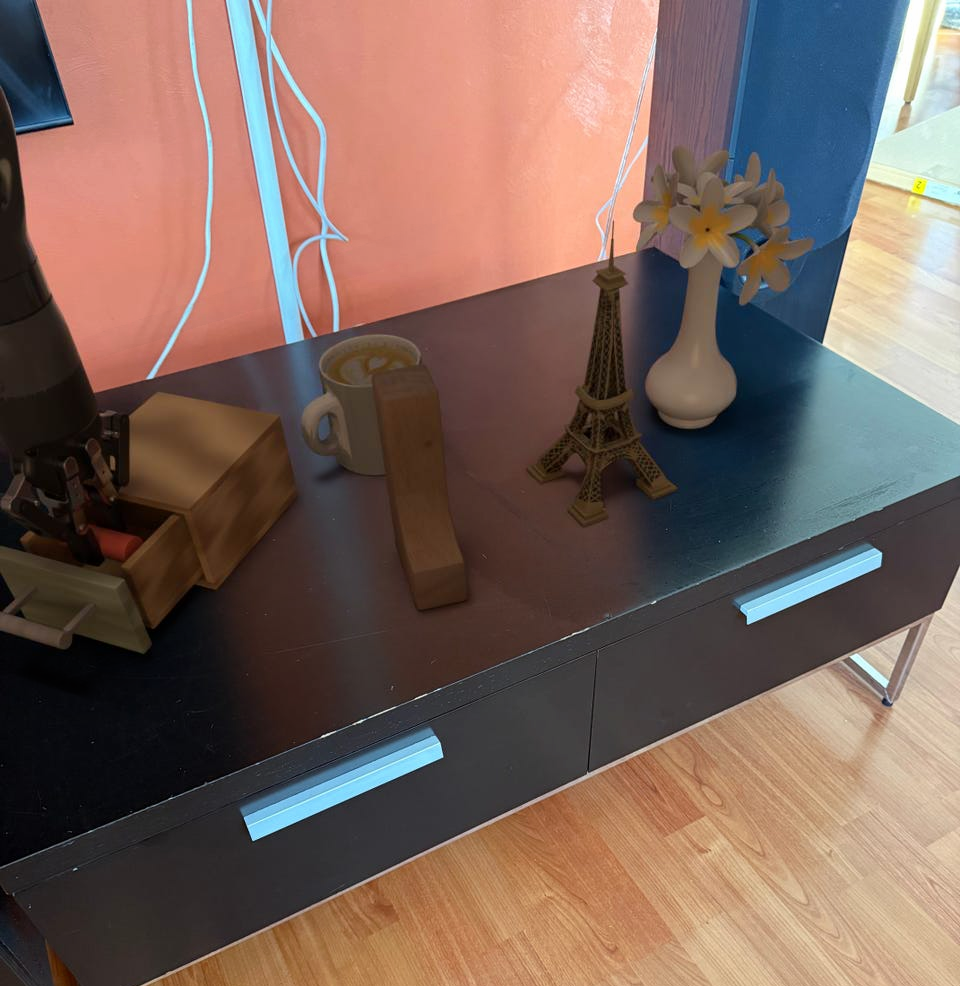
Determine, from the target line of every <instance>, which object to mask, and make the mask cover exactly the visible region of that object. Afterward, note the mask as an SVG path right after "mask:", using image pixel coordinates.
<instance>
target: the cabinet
mask: <svg viewBox="0 0 960 986" xmlns="http://www.w3.org/2000/svg"><path fill="white" fill-rule="evenodd" d="M128 416H129V419H130V481H129V484H128V485H127V486H126V487H121V488H120V490H119V491H118V496H119V499H122V500H126V501H131V502H135V503H139V504H143V505H147V506H151V507H156V508H160V509H164V510H168V511H172V512H176V513H180V514H184V516H185V519H186V522H187V525H188V528H189V531H190V534H191V537H192V540H193V542H194V545H195V548H196V551H197V554H198V557H199V560H200V563H201V566H202V569H203V572H204V574H203V575H202V576H201V577H200V578H199V579H198V580H197V581H196V583H195V584H194V585H196V586H200V587H203V588H206V589H207V588H208V589H209V590H215V591H217V590H218V589H219V587H220V586H221V585H222V584H223V583H224V582H225V580H226V579H227V578H228V577H229V576H230V575H231V574H232V572H233V571H234V570H235V569H236V568H237V567H238V565H240V564H241V562H242V561H243V560H244V559H245V557H247V555H248V554H249V553H250V551H252V550H253V548H254V547H255V546H256V545H257V543H258V542H259V541H260V540H261V539H262V538H263V537H264V535H265V534H266V533H267V532H268V531H269V530H270V528H271V527H272V526H273V525H274V524H275V522H276V521H278V520H279V518H280V517H281V515H282V514H283V513H284V512H285V511H286V510H287V509H288V508H289V507H290V505H291V504H293V502H294V501H295V499H297V497H298V496H299V493H298V489H297V483H296V478H295V476H294V471H293V466H292V463H291V458H290V457H291V456H290V454H289V449H288V445H287V440H286V436H285V432H284V431H285V430H284V427H283V423H282V418H281V415H280V414H275V413H270V412H265V411H261V410H260V411H259V410H254V409H250V408H245V407H244V408H243V407H239V406H233V405H229V404H224V403H220V402H214V401H209V400H204V399H199V398H194V397H188V396H182V395H178V394H172V393H167V392H164V391H156V392H155V394H153V395H152V396H151V397H149V398H148V399H147V400H146V401H145V402H144V403H142V405H140V406H139V407H138V408H137V409H136V410H135V411H133V412H132V413H131V414H130V415H128ZM110 464H111V469H112V470H115V458H114V457H113V456H110Z"/></svg>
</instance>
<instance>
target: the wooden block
mask: <svg viewBox="0 0 960 986" xmlns="http://www.w3.org/2000/svg"><path fill="white" fill-rule="evenodd" d="M372 385H373V392H374V399H375V406H376V413H377V419H378V426H379V433H380V440H381V446H382V453H383V460H384V467H385V474H386V475H385V479H386V485H387V494H388V501H389V507H390V514H391V521H392V528H393V534H394V540H395V548H396V550H397V553H398V557H399V559H400V562H401V566H402V568H403V572H404V574H405V578H406V580H407V584H408V586H409V589H410V591H411V592H410V593H411V595H412V598H413V601H414V604H415V607H416V608H417V609H418V611H419V610H420V611H424V610H428V609H432V608H438V607H442V606H446V605H450V604H451V605H452V604H455V603H459V602H463V601H466V600H467V598H468V588H467V587H468V586H467V575H466V574H467V573H466V566H465V565H466V564H465V559H464V557H463V554H462V550H461V548H460V545H459V542H458V539H457V536H456V535H457V534H456V531H455V527H454V526H455V525H454V521H453V517H452V512H451V506H450V498H449V491H448V481H447V480H448V479H447V470H446V458H445V448H444V446H445V445H444V437H443V435H444V434H443V426H442V425H443V424H442V415H441V405H440V403H441V402H440V393H439V390H438V387H437V385H436V383H435V381H434V379H433V377H432V375H431V373H430V370H429V369H428V366H427V364H423V363H422V364H420V365H414V366H409V367H404V368H398V369H393V370H387V371H382V372H377V373H374V374H373V375H372Z"/></svg>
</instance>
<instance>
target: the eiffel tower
mask: <svg viewBox="0 0 960 986" xmlns="http://www.w3.org/2000/svg"><path fill="white" fill-rule="evenodd" d="M611 229H612V230H611V238H610V247H609V248H610V250H609V259H608V266H606V267H604V268H601V269H597V270H595V273H596V276H595V277H594V278H593V279H592V280H591V282H593V283H594V284H595V285H596V286H597V287H599V288H600V289H599V295H598V300H597V307H596V312H595V313H596V314H595V318H594V325H593V332H592V338H591V343H590V349H589V354H588V360H587V365H586V371H585V374H584V375H585V376H584V382H583V384H578V385H577V386H576V388H575V391H574V393H575V394H576V396H577V398H579V399H578V403H577V406H576V408H575V411H574V415H573V417H572V418H571V421H569V423H567V424H563V428H564V430H565V432H564V433H563V434H562V435H561V437H559V438H558V439H557V440H556V441H555V442H554V443H553V444H552V445H551V446H550V447H549V448H548V449H547V450H546V451H545V452H544V453H543V454H541V456H539V457H538V459H537V460H536V462H535V463H533V464H531V465H528V466H525V470H526V472H527V473H528V474H529V475H530V476H531V477H532V478H533V479H534V480H535V481H536V482H537V483H538V484H540V485H541V484H544V483H547V482H549V481H552V480H555V479H557V478H560V477H562V476H565V469H564V468H563V466H564V465H565V464H566V463H567V462H568V460H569V459H570V458H571V457H572V456H573V455H574V454H577V455H578V456H579V458H580V459H581V461H582V462H583V463H584V465H585V467H586V468H587V471H586V473H585V476H584V478H583V480H582V483H581V485H580V487H579V489H578V492H577V495H576V496H575V499H574V503H572V504H571V507H568V508H567V513H569V515H570V516H571V517H572V518H574V519H575V520H576V521H577V522H578V523H579V525H580V526H581V527H583V528H585V527H587V526H591V525H592V524H594V523H598V522H600V521H603V520H606V519H608V518H609V513H608V512H607V508H605V507H604V500H603V499H604V497H603V483H602V482H603V481H602V471H603V470H604V469H605V468H606V467H607V466H609V465H610V464H611V463H613V462H614V461H616V460H618V459H625V460H626V461H628V462H629V463H630V465H631V466H632V468H633V469H634V471H635V472H636V474H637V476H639V478H636V486H637V487H638V488H639V489H640V490H641V491H642V492H644V493H645V494H646V495H647V496H648V497H649V498H650V499H651V500H653V501H654V500H656V499H659V498H661V497H664V496H666V495H670V494H672V493H674V492H676V491H677V490H678V487H677V486H676V485H675V484H674V483H672V482H671V481H670V480H669V479H668V478H666V476H665V474H664V472H663V471H662V470H661V468H660V467H659V466H658V465H657V463H656V462H655V460H654V459H653V458H652V457H651V455H650V454H649V452H648V451H647V450H646V449H645V447H644V446H643V445H642V444H641V442H640V439H641V438H642V437H643V434H642V433H640V432H638V431H637V429H636V426H635V425H634V423H633V418H632V412H631V408H630V404H629V403H630V401H631V400H632V399H634V398H635V395H634V392H633V389H632V388H630V387H628V386H627V384H626V383H627V382H626V371H625V370H626V369H625V358H624V357H625V356H624V346H623V345H624V344H623V331H622V329H623V328H622V314H621V313H622V311H621V296H620V295H621V294H620V289H621V288H624V287H626V286H627V285H629V282H628V281H627V279H626V278H625V275H627V273H626V271H623V270H621V269H620V268H619V267H617V266H616V265H614V262H615V260H614V258H615V255H614V250H615V249H614V247H615V246H614V245H615V244H614V241H615V239H614V234H615V233H614V232H615V231H614V230H615V220H612V227H611ZM616 413H617V414H616ZM590 414H591V415H590ZM589 415H590V417H589Z"/></svg>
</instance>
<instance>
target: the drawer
mask: <svg viewBox="0 0 960 986" xmlns="http://www.w3.org/2000/svg"><path fill="white" fill-rule="evenodd" d="M84 497H85V496H84ZM85 501H86V504H85V505H84V506H83V510H84V513H85V516H86V519H87V523H88V524H91V525H95V526H96V524H95V521H94V519H93V517H92V514H91V512H90V510H89V507H88V505H89V504H90V503H91V501H89V500H87V499H86V498H85ZM117 504H118V507H119V509H120V512H121V514H122V517H123V520H124V522H125V524H126V532H125V533H126V534H129V535H133V536H137V537H140V538H141V539H142V541H143V544H142V546H141V547H140V548H139V549H138V550H137V551H136V552H135V553H134V554H133V555H132V556H131V557H130V558H129V559H128V560H127V561H126V562H125V563H121V562H118V561H114V560H110V559H107V558H105V561H104V562H103V563H102V564H101V565H100V566H99V567H96V566H92V565H88V564H84V563H81V562H77V561H76V560H75V559H74V558H73V556H72V553H71V551H70V549H69V548H66V547H63V546H61V545H60V544H59V543H58V541H57V540H54V539H50V538H46V537H40V536H37V535H36V534H34V533H33V532H31V531H30V530H28V531H27V532H26V533H25V534H23V536H21V537H20V539H19V541H20V542H21V544H22V547H23V548H24V550H25V551H21V550H18V549H14V548H11V547H7V546H3V545H0V574H1V576H2V578H3V580H4V582H5V584H6V585H7V588H8V589H9V591H10V592H11V594H12V597H13V598H14V600H13V601H12V602H11V603H10V604H9V605H8V606H6V607H5V608H4V609H3V610H2V611H0V631H1V632H4V633H8V634H11V635H14V636H17V637H21V638H23V639H28V640H30V641H34V642H37V643H41V644H42V645H47V646H50V647H53V648H56V649H60V650H67V649H68V648H69V647H70V646H71V645H72V643H73V635H74V634H75V635H78V636H83V637H86V638H89V639H92V640H94V641H95V640H96V641H99V642H103V643H104V644H105V643H106V644H109V645H113V646H116V647H118V648H122V649H126V650H130V651H132V652H136V653H139V654H142V655H144V654H145V653H147V651H148V650H149V649H150V648H151V647H152V645H153V642H152V640H151V638H150V636H149V634H148V630H147V629H146V628H149V629H152V630H154V629H156V628H157V627H158V626H159V624H160V623H161V622H162V621H163V619H165V618H166V616H167V615H168V614H169V613H170V612H171V611H172V610H173V609H174V607H176V605H177V604H178V603H179V602H180V600H182V598H183V597H184V596H185V595H186V594H187V593H188V592H189V591H190V590H191V588H192V587H193V586H194V585H195V583H196V581H197V580H198V579H199V578H200V577H201V576H202V575H203V574H204V572H203V569H202V566H201V563H200V560H199V557H198V554H197V551H196V548H195V545H194V542H193V540H192V537H191V534H190V531H189V528H188V525H187V522H186V519H185V516H184V514H180V513H176V512H172V511H168V510H164V509H160V508H156V507H151V506H147V505H143V504H139V503H135V502H131V501H126V500H122V499H119V500H118V503H117ZM66 513H67V512H66ZM48 514H49V513H48ZM49 515H50V514H49ZM67 515H68V513H67ZM20 611H21V612H22V615H23V616H24V618H23V617H20V616H16V614H17V613H18V612H20Z"/></svg>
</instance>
